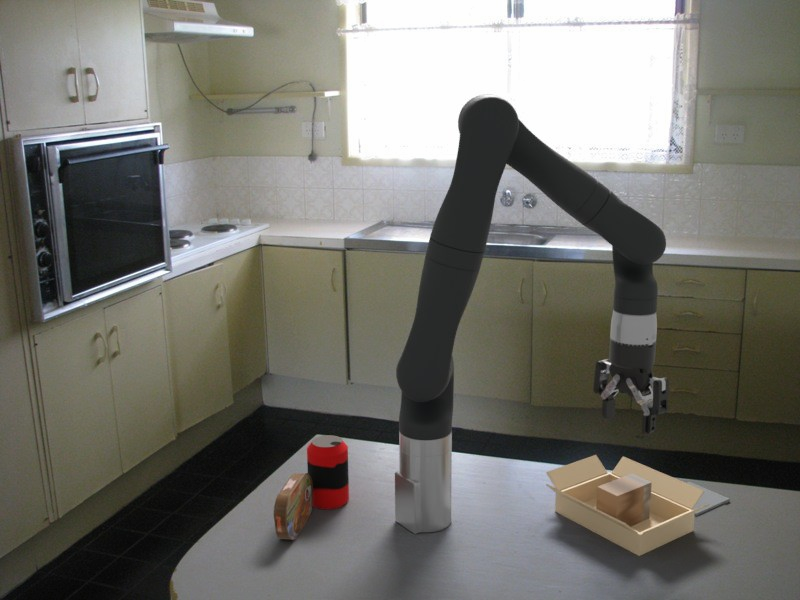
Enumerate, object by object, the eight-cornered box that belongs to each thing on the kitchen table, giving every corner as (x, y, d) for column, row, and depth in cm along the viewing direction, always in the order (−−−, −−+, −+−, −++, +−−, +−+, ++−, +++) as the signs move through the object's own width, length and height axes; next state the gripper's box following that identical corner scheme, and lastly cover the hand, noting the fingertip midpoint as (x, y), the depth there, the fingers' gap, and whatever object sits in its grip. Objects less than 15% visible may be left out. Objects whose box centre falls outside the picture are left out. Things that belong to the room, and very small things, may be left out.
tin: (289, 549, 146) (287, 503, 144) (272, 547, 147) (269, 501, 145) (315, 508, 161) (314, 465, 159) (299, 506, 161) (297, 464, 159)
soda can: (333, 513, 158) (331, 452, 155) (300, 503, 162) (298, 444, 159) (356, 497, 164) (355, 438, 162) (324, 488, 168) (322, 430, 165)
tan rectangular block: (615, 533, 150) (617, 496, 148) (595, 523, 153) (597, 486, 152) (649, 518, 155) (651, 482, 153) (629, 508, 158) (631, 473, 157)
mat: (695, 516, 156) (696, 513, 156) (655, 498, 163) (655, 495, 163) (729, 501, 161) (729, 498, 161) (688, 484, 168) (688, 481, 168)
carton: (641, 571, 138) (644, 533, 137) (530, 510, 159) (531, 476, 157) (720, 533, 150) (723, 498, 148) (606, 481, 170) (608, 449, 169)
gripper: (586, 331, 150) (582, 419, 154) (652, 350, 138) (646, 445, 142) (615, 324, 154) (610, 410, 158) (682, 342, 143) (675, 434, 146)
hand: (627, 426), depth 150 cm, fingers open, 8 cm apart
